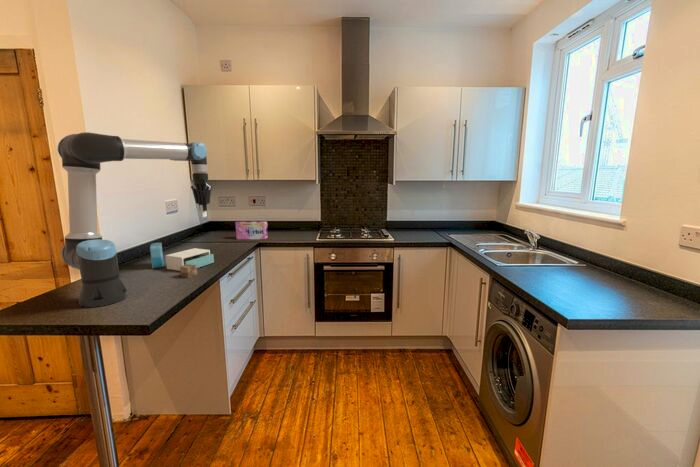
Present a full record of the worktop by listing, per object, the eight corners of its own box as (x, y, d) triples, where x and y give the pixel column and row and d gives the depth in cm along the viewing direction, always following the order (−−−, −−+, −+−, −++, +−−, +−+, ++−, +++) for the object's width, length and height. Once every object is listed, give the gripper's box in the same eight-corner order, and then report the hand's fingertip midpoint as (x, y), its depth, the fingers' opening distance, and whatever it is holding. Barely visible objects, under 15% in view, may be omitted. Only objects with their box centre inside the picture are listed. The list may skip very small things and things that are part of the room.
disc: (180, 263, 168) (179, 260, 167) (192, 260, 175) (192, 257, 175) (190, 265, 165) (190, 262, 164) (203, 261, 172) (202, 258, 172)
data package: (159, 246, 164) (161, 242, 174) (149, 247, 162) (151, 242, 172) (162, 268, 166) (163, 262, 176) (152, 269, 164) (154, 263, 174)
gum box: (269, 237, 249) (268, 220, 246) (266, 239, 241) (265, 222, 239) (239, 237, 249) (238, 220, 247) (236, 239, 241) (234, 222, 239)
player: (210, 262, 176) (209, 250, 175) (183, 271, 160) (181, 257, 159) (195, 260, 181) (194, 248, 180) (166, 268, 165) (165, 255, 163)
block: (188, 277, 150) (187, 267, 149) (181, 276, 152) (180, 266, 151) (197, 274, 154) (196, 265, 153) (189, 273, 156) (188, 264, 155)
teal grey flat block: (214, 262, 175) (213, 254, 174) (187, 271, 159) (186, 261, 158) (197, 260, 180) (196, 252, 179) (169, 268, 164) (168, 259, 163)
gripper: (214, 172, 166) (218, 216, 171) (196, 173, 171) (200, 215, 176) (203, 172, 160) (207, 218, 164) (185, 172, 165) (189, 217, 169)
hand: (203, 216), depth 170 cm, fingers closed
